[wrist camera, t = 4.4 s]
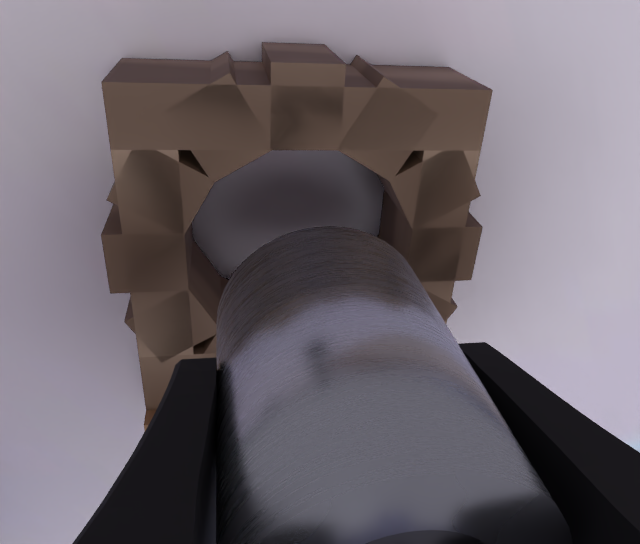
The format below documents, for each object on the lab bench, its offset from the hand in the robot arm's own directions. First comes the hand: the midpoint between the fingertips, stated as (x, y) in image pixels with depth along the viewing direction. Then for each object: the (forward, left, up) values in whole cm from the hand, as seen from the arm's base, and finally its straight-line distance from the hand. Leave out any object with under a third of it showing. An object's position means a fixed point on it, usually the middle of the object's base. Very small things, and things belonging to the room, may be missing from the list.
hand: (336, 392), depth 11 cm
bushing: (0, 0, -2) cm, 2 cm away
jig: (-2, 0, -8) cm, 8 cm away
